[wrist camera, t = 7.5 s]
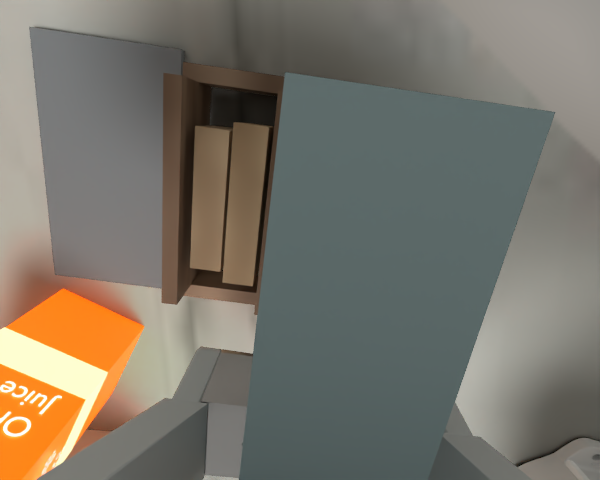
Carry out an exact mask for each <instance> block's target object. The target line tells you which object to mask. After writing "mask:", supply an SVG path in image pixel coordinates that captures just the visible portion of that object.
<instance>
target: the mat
mask: <svg viewBox="0 0 600 480" xmlns="http://www.w3.org/2000/svg"><path fill="white" fill-rule="evenodd" d="M29 29H30V39H31V49H32V58H33V68H34V78H35V87H36V97H37V107H38V116H39V126H40V136H41V145H42V155H43V165H44V174H45V184H46V194H47V203H48V213H49V223H50V232H51V242H52V252H53V262H54V271H55V275H61V276H69V277H76V278H84V279H92V280H100V281H107V282H115V283H123V284H130V285H138V286H146V287H154V288H161V289H162V189H163V73H169V74H176V75H182V76H183V62H184V51H183V50H182V49H175V48H169V47H162V46H155V45H149V44H142V43H135V42H128V41H122V40H115V39H108V38H101V37H95V36H88V35H81V34H75V33H68V32H61V31H54V30H48V29H41V28H34V27H29Z"/></svg>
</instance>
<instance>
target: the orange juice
mask: <svg viewBox="0 0 600 480" xmlns="http://www.w3.org/2000/svg"><path fill="white" fill-rule="evenodd" d="M143 328H144V326H142V325H140V324H138V323H136V322H134V321H132V320H130V319H127V318H125V317H123V316H121V315H119V314H117V313H115V312H112V311H110V310H108V309H106V308H104V307H102V306H100V305H97V304H95V303H93V302H91V301H89V300H87V299H84V298H82V297H80V296H78V295H76V294H74V293H72V292H69V291H67V290H65V289H62V290H60V291H59V292H57V293H56V294H54V295H53V296H51V297H50V298H48V299H47V300H45V301H44V302H42V303H41V304H39V305H38V306H36V307H35V308H33V309H32V310H30V311H29V312H27V313H26V314H24V315H23V316H21V317H20V318H19V319H17V320H16V321H14V322H13V323H11V324H10V325H8V326H7V327H4V328H2V329H1V330H0V480H36V479H37V478H39V477H40V476H42V475H43V474H45V473H47V472H48V471H50V470H51V469H53V468H55V467H56V466H58V465H59V464H61V463H62V462H64V460H65V459H66V458H67V456H68V455H69V453H70V452H71V451H72V449H73V447H74V446H75V444H76V443H77V441H78V440H79V439H80V437H81V436H82V435H83V433H84V432H85V430H86V429H87V428H88V426H89V425H90V423H91V422H92V421H93V419H94V418H95V416H96V415H97V414H98V412H99V411H100V410H101V408H102V407H103V405H104V404H105V403H106V401H107V400H108V398H109V397H110V396H111V394H112V392H113V390H114V388H115V386H116V384H117V382H118V380H119V378H120V376H121V374H122V372H123V370H124V368H125V366H126V363H127V361H128V359H129V357H130V355H131V353H132V351H133V349H134V347H135V345H136V343H137V341H138V339H139V337H140V335H141V333H142V330H143Z"/></svg>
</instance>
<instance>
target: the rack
mask: <svg viewBox="0 0 600 480" xmlns="http://www.w3.org/2000/svg"><path fill="white" fill-rule="evenodd" d="M283 86H284V77H282V76H276V75H269V74H262V73H255V72H249V71H242V70H235V69H228V68H222V67H215V66H208V65H201V64H194V63H188V62H183V76H182V75H176V74H169V73H163V189H162V303H168V304H175V305H177V304H178V302H179V301H180V299H181V298H182V297H183V296H191V297H198V298H206V299H214V300H222V301H229V302H237V303H245V304H253V305H255V313H254V315H258V307H259V298H260V289H261V280H262V271H263V263H264V254H265V245H266V236H267V227H268V219H269V210H270V201H271V192H272V183H273V174H274V166H275V157H276V148H277V139H278V130H279V121H280V113H281V104H282V95H283ZM211 87H214V88H221V89H228V90H235V91H242V92H249V93H255V94H262V95H269V96H276V97H277V106H276V116H275V125H274V134H273V144H272V153H271V162H270V172H269V181H268V191H267V200H266V209H265V219H264V228H263V238H262V247H261V256H260V266H259V275H258V276H256V278H255V281H254V284H253V286H246V285H238V284H231V283H223V271H220V272H218V271H210V270H203V269H195V268H190V255H191V227H192V199H193V171H194V142H195V126H210V105H211Z"/></svg>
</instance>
